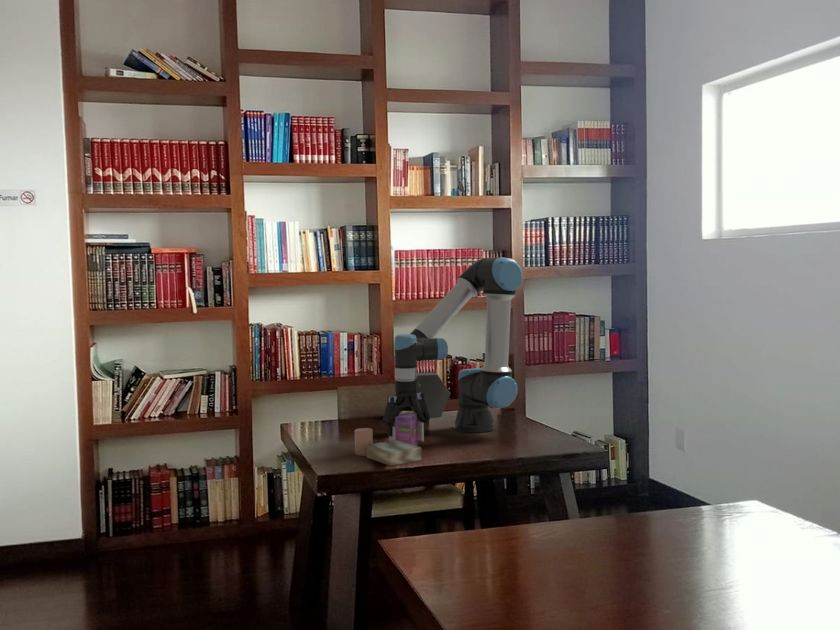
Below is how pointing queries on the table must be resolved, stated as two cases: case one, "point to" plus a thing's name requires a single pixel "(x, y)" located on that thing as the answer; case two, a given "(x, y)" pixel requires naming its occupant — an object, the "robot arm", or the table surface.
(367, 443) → the tan capsule cylinder
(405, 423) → the box
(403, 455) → the mirror
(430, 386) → the dark grey hexagonal block
